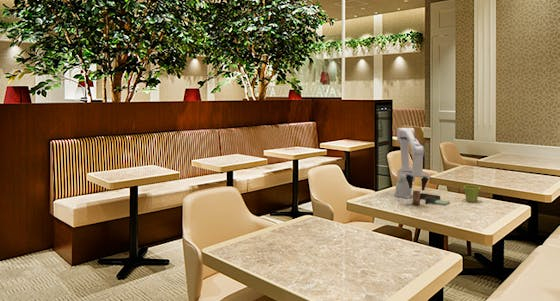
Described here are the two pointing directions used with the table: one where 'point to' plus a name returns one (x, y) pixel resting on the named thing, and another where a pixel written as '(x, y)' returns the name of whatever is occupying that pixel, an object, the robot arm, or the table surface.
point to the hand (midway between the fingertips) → (416, 189)
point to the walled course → (429, 198)
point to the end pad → (441, 202)
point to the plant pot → (471, 193)
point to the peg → (416, 197)
